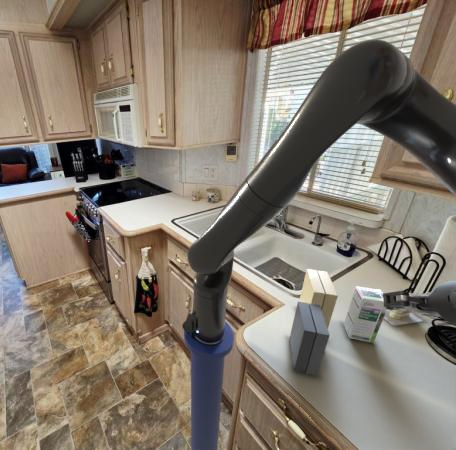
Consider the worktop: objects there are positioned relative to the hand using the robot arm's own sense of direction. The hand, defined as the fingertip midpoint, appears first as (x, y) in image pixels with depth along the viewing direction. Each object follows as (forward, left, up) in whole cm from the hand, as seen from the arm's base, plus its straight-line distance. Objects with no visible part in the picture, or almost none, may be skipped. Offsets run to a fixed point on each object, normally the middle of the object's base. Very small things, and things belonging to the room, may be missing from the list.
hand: (413, 308), depth 50 cm
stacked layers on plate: (+13, +27, -23) cm, 38 cm away
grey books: (-16, +2, -23) cm, 28 cm away
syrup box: (0, +15, -23) cm, 27 cm away
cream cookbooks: (-12, +15, -23) cm, 30 cm away
